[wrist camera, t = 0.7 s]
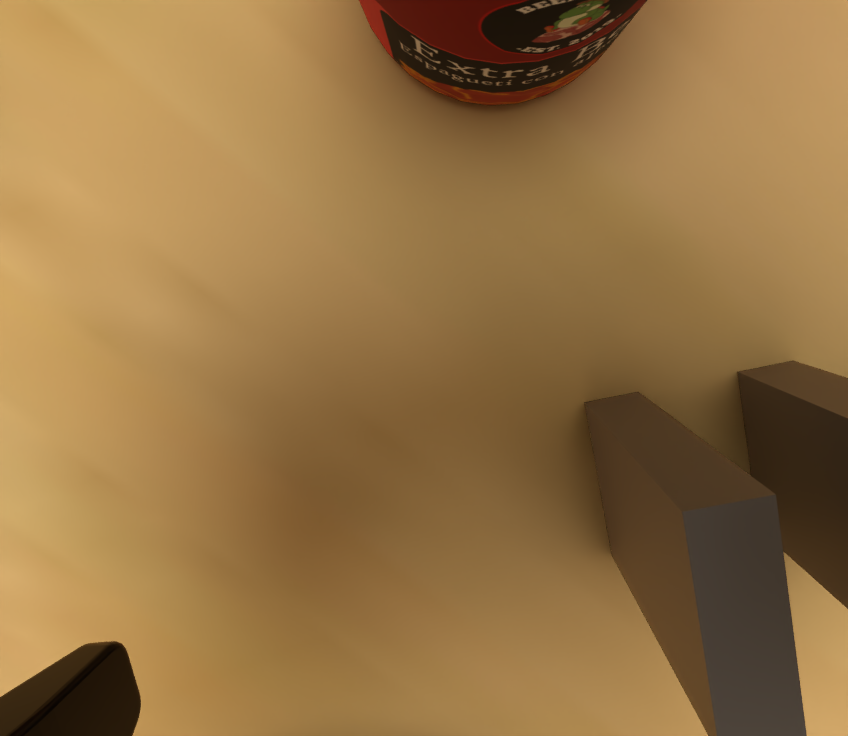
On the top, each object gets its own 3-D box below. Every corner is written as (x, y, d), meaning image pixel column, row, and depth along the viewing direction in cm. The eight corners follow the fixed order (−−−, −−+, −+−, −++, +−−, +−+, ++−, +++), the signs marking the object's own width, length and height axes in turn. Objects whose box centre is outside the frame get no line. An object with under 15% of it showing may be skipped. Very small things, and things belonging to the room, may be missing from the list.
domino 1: (663, 545, 20) (807, 744, 12) (611, 555, 20) (720, 757, 12) (638, 391, 19) (776, 494, 11) (584, 402, 19) (682, 511, 11)
